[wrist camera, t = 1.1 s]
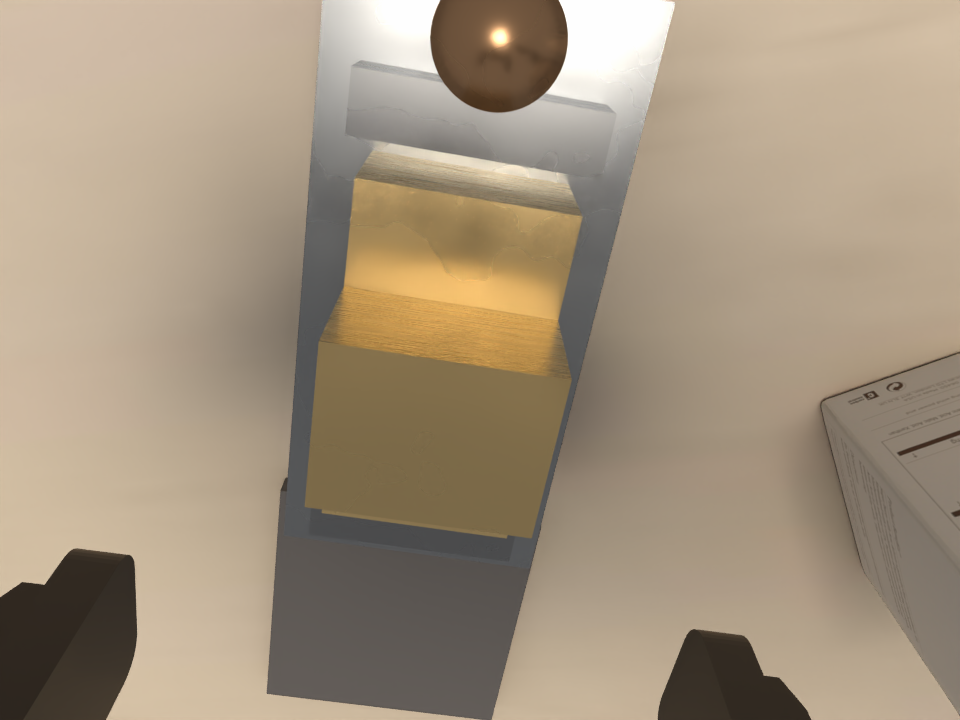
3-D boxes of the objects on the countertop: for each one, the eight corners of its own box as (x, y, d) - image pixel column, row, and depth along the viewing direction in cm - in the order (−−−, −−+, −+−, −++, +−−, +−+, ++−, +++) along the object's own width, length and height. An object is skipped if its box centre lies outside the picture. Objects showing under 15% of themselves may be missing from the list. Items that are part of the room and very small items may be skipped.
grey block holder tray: (635, -2, 22) (741, 9, 13) (522, 479, 29) (540, 696, 20) (359, -55, 21) (271, -82, 12) (314, 449, 29) (238, 660, 20)
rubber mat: (539, 514, 30) (541, 526, 29) (490, 705, 35) (491, 720, 34) (285, 478, 29) (280, 490, 29) (271, 678, 34) (266, 693, 34)
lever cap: (568, 184, 19) (602, 260, 14) (503, 474, 23) (510, 621, 18) (372, 150, 19) (329, 215, 14) (340, 450, 23) (297, 593, 18)
